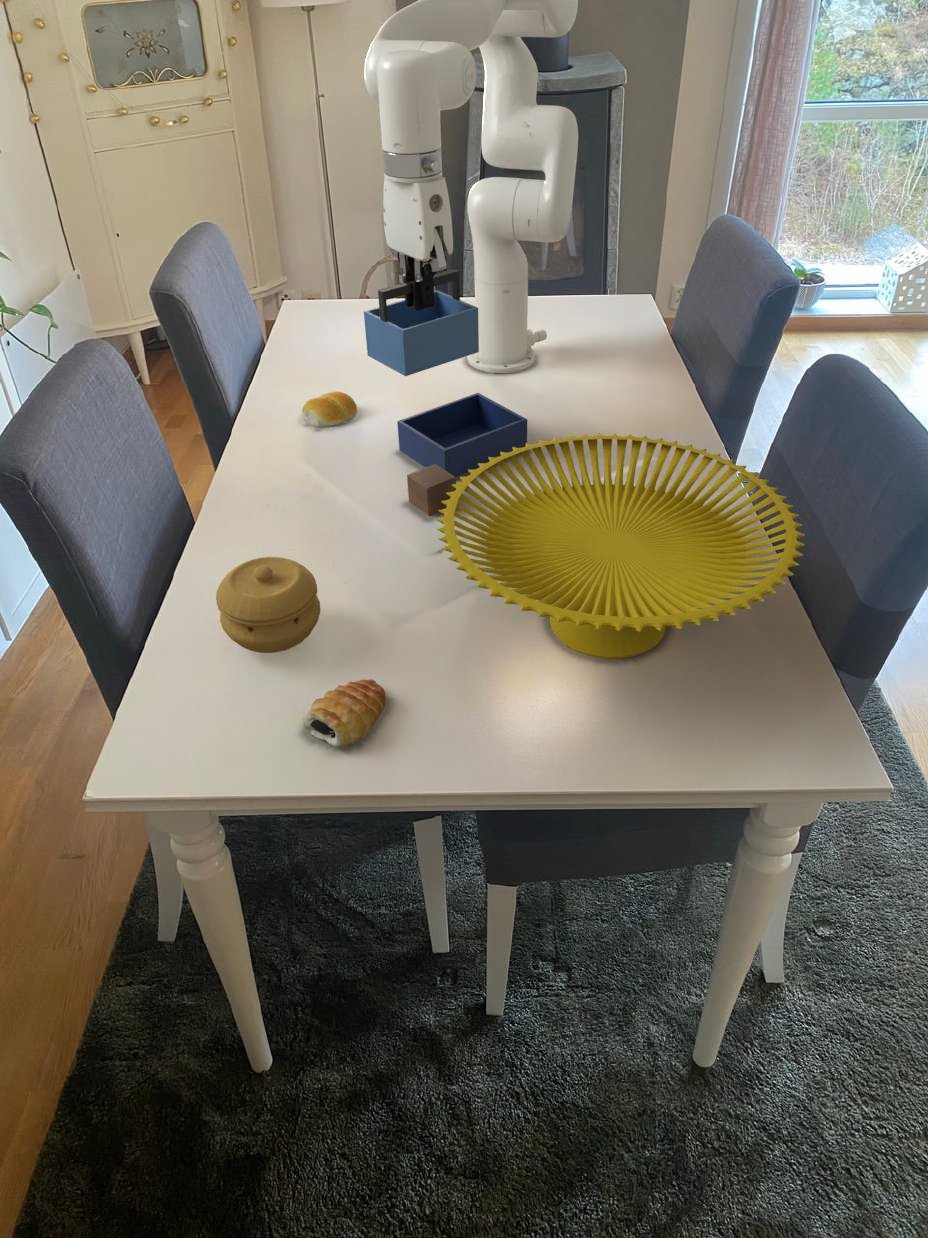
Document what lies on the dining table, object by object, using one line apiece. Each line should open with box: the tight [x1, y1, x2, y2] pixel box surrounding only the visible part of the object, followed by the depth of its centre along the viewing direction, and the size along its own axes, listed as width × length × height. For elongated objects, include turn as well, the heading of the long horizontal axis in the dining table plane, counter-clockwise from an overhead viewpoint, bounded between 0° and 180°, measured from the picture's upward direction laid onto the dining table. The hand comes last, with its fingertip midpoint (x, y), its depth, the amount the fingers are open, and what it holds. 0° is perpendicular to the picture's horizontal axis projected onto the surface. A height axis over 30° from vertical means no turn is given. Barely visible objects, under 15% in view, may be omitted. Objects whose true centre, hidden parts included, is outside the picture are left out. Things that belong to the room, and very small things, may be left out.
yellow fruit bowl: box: [435, 432, 806, 660], centre depth 110 cm, size 40×40×15 cm
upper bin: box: [363, 268, 479, 377], centre depth 133 cm, size 13×10×11 cm
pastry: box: [302, 678, 387, 748], centre depth 101 cm, size 9×7×4 cm
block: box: [406, 464, 457, 517], centre depth 135 cm, size 5×5×5 cm
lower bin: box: [396, 392, 528, 478], centre depth 147 cm, size 16×12×6 cm
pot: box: [215, 556, 321, 654], centre depth 111 cm, size 12×12×10 cm
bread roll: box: [301, 391, 358, 429], centre depth 158 cm, size 8×9×4 cm
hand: (420, 305), depth 132 cm, fingers closed on upper bin, 1 cm apart
